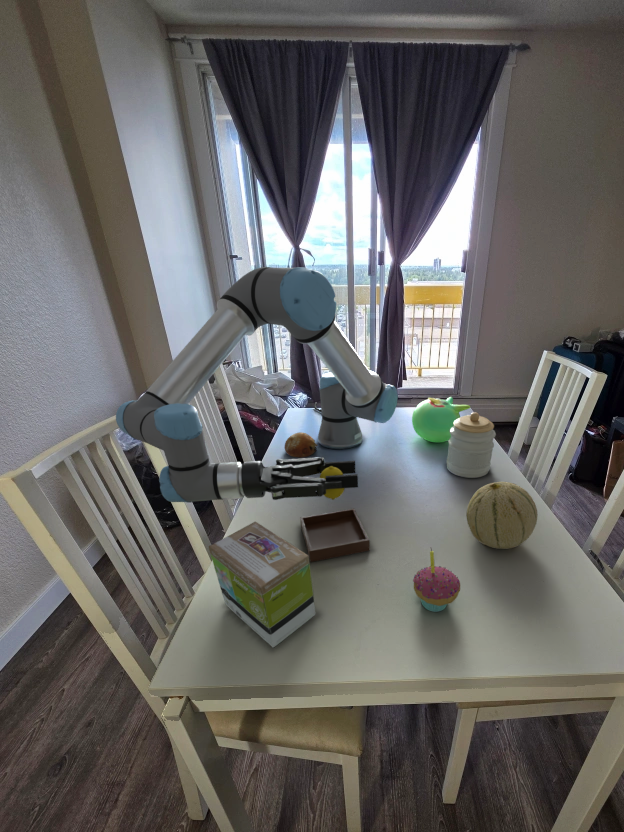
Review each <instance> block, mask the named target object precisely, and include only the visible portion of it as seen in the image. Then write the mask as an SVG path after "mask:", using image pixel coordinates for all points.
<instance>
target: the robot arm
mask: <svg viewBox="0 0 624 832" xmlns="http://www.w3.org/2000/svg"><path fill="white" fill-rule="evenodd" d="M335 298H336V293H335V289H334V287H333V285H332V283H331V281H330V280H329V279H328V278H327V276H325V275H324V274H323V273H321V272H320V271H318V270H315V269H310V268H307V267H303V266H301V267H300V266H299V267H298V266H297V267H272V266H262V267H257V268H255V269H252V270H250V271H248V272H247V273H245V274H244V275H242V276H241V277H240V278H239V279H238V280H236V281H235V282H234V283H233V284H232V285H231V286H230V287H229V288H228V289H227V290H226V291H225V292H224V293H223V295H222V296H221V297H219V299H218V300H217V301H216V311H214V313H213V314H212V315H211V317H209V319H207V321H206V322H205V323H204V324H203V325H202V326H201V327H200V329H199V330H198V331H197V332H196V333H195V335H194V336H193V337H192V338H191V339H190V341H188V343H187V344H186V345H185V346H184V347H183V348H182V349H181V351H180V352H179V353H178V354H177V355H176V356H175V358H174V359H173V360H172V361H170V363H169V365H167V367H165V369H164V370H163V371H162V372H161V373H160V375H159V376H158V377H157V378H156V379H155V380H154V381H153V383H152V384H151V385H150V386H149V387H148V389H146V390H145V392H144V393H143V394H142V395H141V396H140V397H139V399H138V400H137V399H136V400H128V401H126V402H123V403H122V404H121V405H119V407H118V408H117V410H116V413H115V422H116V425H117V426H118V428H119V430H121V432H122V433H124V434H126V435H128V436H129V437H130V438H131V439H133V440H137V441H140V442H142V443H145V444H147V445H150V446H151V447H154V448H157V449H159V450H161V451H163V453H164V456H165V459H166V462H167V465H166V466H164V467H162V468H161V471H160V473H159V477H158V481H159V489H160V493H161V495H162V497H163V498H164V499H165V500H166V501H168V502H170V503H194V502H205V501H206V502H207V501H221V500H232V501H233V500H235V499H237V500H238V499H243V498H245V497H246V498H247V499H255V498H256V499H257V498H263V497H265V495H266V492H267V493H271V498H272V500H273V501H277V500H282V499H293V498H295V499H296V498H314V497H317V498H318V497H322V496H324V495H325V494H326V489H339V488H345V489H353V488H354V489H355V488H359V475H358V473H357V472H356V460H342V461H339V460H338V461H325V458H324V457H319V456H318V457H302V458H289V459H286V458H285V459H284V458H277V459H276V460H275V462H276V463H275V465H270V466H269V465H268V466H264V463H263V462H262V461H261V460H250V461H244V462H243V463H242V462H241V461H229V462H217V463H216V462H215V463H214V462H211V461H210V457H209V456H210V455H209V453H208V449H207V444H206V438H205V433H204V429H203V428H204V427H203V423H202V422H201V419H200V416H199V413H198V410H197V408H196V407H195V406H193V405H192V404H190V403H191V401H193V399H194V398H195V397H196V395H197V394H198V393H199V392H200V391H201V390H202V388H203V387H204V386H205V385H206V383H207V382H208V381H209V380H210V379H211V378H212V376H213V375H214V374H215V373H216V372H217V370H218V369H219V368H220V366H222V364H224V362H225V361H226V359H227V358H228V357H229V355H231V353H232V352H233V351H234V350H235V348H236V347H237V346H238V345H239V344H240V343H241V341H242V340H243V339H244V338H245V337H246V336H252V335H253V334H254V333H255V332H256V331H257V329H259V328H260V327H262V326H266V325H273V326H274V325H275V326H282V327H284V328H285V329H286V330H287V331H288V332H289V333H290V335H291V336H292V337H293V339H295V341H296V342H298V343H299V344H303V345H307V346H309V348H310V349H311V350H312V351H313V352H314V354H315V355H316V356H317V357H318V358H319V360H320V361H321V362H322V364H324V366H325V367H326V368H327V369H328V371H329V372H327V373H324V374H322V375H321V376H320V378H319V388H318V391H319V399H320V400H319V401H320V408H318V407H317V405H318V403H317V401H315V402H313V403H314V404H313V409H314V410H315V411H317V412H320V413H321V423H320V426H319V430H318V434H317V440H318V444H319V445H320V446H322V447H323V448H326V449H331V450H346V449H352V448H354V447H355V448H356V447H358V446H359V445H360V444H361V443H362V442H363V432H362V429H361V426H360V424H359V421H358V419H362V420H366V421H369V422H373V423H377V424H379V423H380V424H385V423H387V422H388V421H389V422H390V420H391V418H392V417H393V415H394V413H395V411H396V409H397V405H398V399H399V395H398V389H397V388H396V386H394V385H392V384H391V383H389V384H386V383H384V381H383V380H382V379H381V377H380V376H379V374H378V373H376V372H375V371H372V370H369V369H368V367H367V366H366V364H365V363H364V361H363V360H362V359H361V357H360V355H359V354H358V352H357V351H356V350H355V348H354V347H353V345H352V344H351V343H350V341H349V339H348V337H347V336H346V334H345V333H344V332H343V331H342V329H341V328H340V326H339V324H338V323H337V322H336V318H337V301H336V300H335ZM319 409H320V410H319ZM330 466H333V467H336V468H338V469H339V470H340V471H341V472H342V473H343V475H333V476H325V477H326V480H325V479H324V478H320V477H311V476H313V475H319V474H320V475H321V473H322V471H323V470H324V469H326V468H328V467H330ZM309 476H310V477H309Z"/></svg>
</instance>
